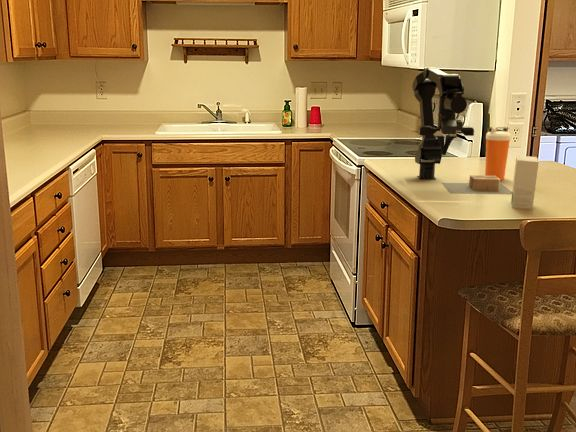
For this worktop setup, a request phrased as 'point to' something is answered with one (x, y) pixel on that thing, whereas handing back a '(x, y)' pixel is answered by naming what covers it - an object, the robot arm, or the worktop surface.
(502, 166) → the shaker bottle
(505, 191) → the mat
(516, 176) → the skincare box
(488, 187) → the block
